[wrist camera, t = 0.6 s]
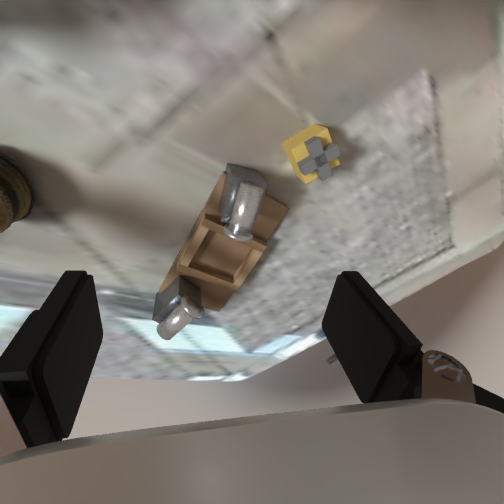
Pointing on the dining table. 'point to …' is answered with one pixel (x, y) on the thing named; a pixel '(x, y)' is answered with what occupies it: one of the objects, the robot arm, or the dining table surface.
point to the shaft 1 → (177, 307)
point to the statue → (13, 193)
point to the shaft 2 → (241, 201)
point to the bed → (222, 250)
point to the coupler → (312, 153)
